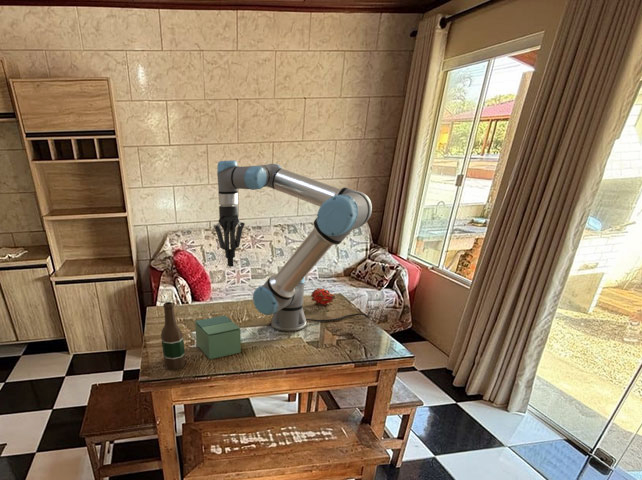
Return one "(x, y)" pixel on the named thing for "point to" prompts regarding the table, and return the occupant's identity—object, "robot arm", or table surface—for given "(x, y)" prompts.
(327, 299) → the dragon fruit
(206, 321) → the flap
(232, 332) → the container
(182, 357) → the beer bottle
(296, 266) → the robot arm
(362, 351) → the table surface
